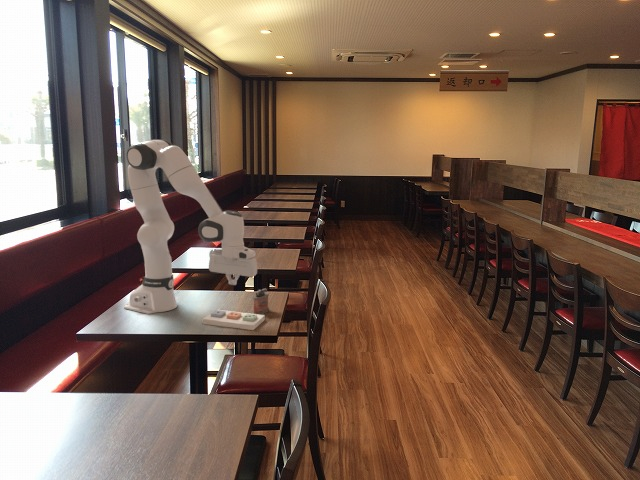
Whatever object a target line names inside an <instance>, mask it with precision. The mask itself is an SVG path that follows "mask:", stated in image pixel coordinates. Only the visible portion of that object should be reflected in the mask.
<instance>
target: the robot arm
mask: <svg viewBox="0 0 640 480" xmlns="http://www.w3.org/2000/svg"><path fill="white" fill-rule="evenodd" d="M126 161H127V163H128V164H129V165H128V166H127V177H128V178H127V179H128V183H129V189H130V191H131V195H132V198H133V203H134V206H135V209H136V210H137V211H138V213H139V214H140V216H141V218H142V220H143V224H142V225H141V226H140V228H139V229H138V231H137V234H136V237H137V241H138V243H139V244H140V249H141V250H142V255H143V261H144V272H145V276H142V277H141V278H139V282H141V281H142V282H141V285H139V286H138V287H137V288H135V289H134V290H133V291H132V292H131V293H130V294H129V301H128V302H126V303H125V304H124V306H123V308H124V310H129V311H133V312H138V313H143V314H148V315H150V314H155V313H163V312H167V311H172V310H174V309H176V308H177V307H178V303H177V300H176V296H175V291H174V285H175V284H174V283H175V282H174V274H173V263H172V256H171V254H170V250H169V247H168V241H169V240H170V239H171V238H172V237H173V235H174V233H175V232H174V231H175V224H174V222H173V221H172V220H171V216H170V215H169V213H168V211H167V209H166V206H165V204H164V201H163V198H162V195H161V190H160V188H159V184H158V179H157V177H156V172H157V169H161V170H163V172H164V174H165V176H166V177H167V179H168V181H169V184H170V185H171V186H172V187H173V189H174V190H175V191H176V192H177V193H179V194H181V195H184V196H187V197H190V198H192V199H194V200H196V201H197V202H198V203H199V205H200V206H201V208H202V209H203V211H204V212H205V213H206V215H207V217H208V218H206V219H204V220H203V221H201V222H200V223H199V225H198V226H197V227H198V228H197V230H198V231H197V232H198V233H197V234H198V236H199V237H200V239H201V240H202V241H203V242H205V243H215V242H220V243H221V249H216V248H215V249H212V250H210V251H209V260H208V261H209V263H208V270H209V271H210V272H211V273H220V274H225V277H226V279H227V280H228V285H231V286H236V285H237V284H238V283H237V282H238V280H239V278H240V276H242V277H250V278H252V277H255V276H256V275H257V274H258V262H257V258H256V257H255V256H256V251H255V250H253V249H250V248H249V247H246V246H245V242H244V235H245V222H244V217H243V214H241V213H240V212H239V211H235V210H223V209H222V207H221V206H220V205H219V203H218V202H217V200H216V198H215V197H214V195H213V193H212V192H211V191H210V189H209V188H208V187H207V186H206V184H205V183H204V182H203V180H202V178H201V177H200V175H199V174H198V172H197V170H196V168H195V167H194V164H192V162H191V160H190V159H189V157H188V155H186V153H185V151H184V150H183V149H182V148H181V147H179V146H178V145H174V144H173V143H172V141H169V140H167V139H162V138H161V139H160V138H159V139H150V140H149V139H148V140H146V141H141V142H136V143H133V144H132V145H129V147H128V148H127V150H126ZM232 275H233V277H234V279H233V278H232Z"/></svg>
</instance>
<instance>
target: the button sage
mask: <svg viewBox="0 0 640 480" xmlns="http://www.w3.org/2000/svg"><path fill="white" fill-rule="evenodd" d="M253 314H254V313H251V314H246V315H245V316H244V317H243V321H250V322H254V321H255V320H256V319H257V315H253Z"/></svg>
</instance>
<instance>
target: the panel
mask: <svg viewBox="0 0 640 480" xmlns="http://www.w3.org/2000/svg"><path fill="white" fill-rule="evenodd" d="M215 310H219V311H226V315H224V316H223V317H222V318H218V317H211V313H212V312H214V311H215ZM215 310H213V311H212V312H210V313H209V314H207V315H206V316H204V317H203V318H202V322H201V323H202V324H203V325H208V326H209V325H211V326H217V327H218V326H219V327H223V328H224V327H225V328H234V329H240V330H249V331H254V330H255V329H257V327H259V326H260V325H261V324H262V323H263V322H264V321H265V320H266V316H265V314H260V315H259V314H254V313H249V312H240V311H234V310H233V311H232V310H226V309H225V310H224V309H223V310H222V309H215ZM231 312H236V313H241V317H240V318H239V319H237V320H234V319H227V315H228V314H229V313H231ZM246 314H253V315H257V319H256V320H255V321H254V322H250V321H243V317H244V316H245V315H246Z"/></svg>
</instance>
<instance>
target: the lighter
mask: <svg viewBox="0 0 640 480" xmlns="http://www.w3.org/2000/svg"><path fill="white" fill-rule="evenodd" d="M252 298H253V313H252V314H259V315H264V314H266V313H268V312H269V310H270V309H269V293H268V289H267V288H266V287H265V288H262V289H258V290H257V291H255V295H254V296H253V297H252Z"/></svg>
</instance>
